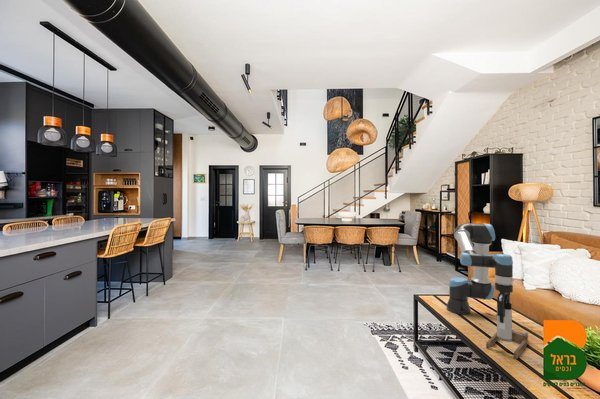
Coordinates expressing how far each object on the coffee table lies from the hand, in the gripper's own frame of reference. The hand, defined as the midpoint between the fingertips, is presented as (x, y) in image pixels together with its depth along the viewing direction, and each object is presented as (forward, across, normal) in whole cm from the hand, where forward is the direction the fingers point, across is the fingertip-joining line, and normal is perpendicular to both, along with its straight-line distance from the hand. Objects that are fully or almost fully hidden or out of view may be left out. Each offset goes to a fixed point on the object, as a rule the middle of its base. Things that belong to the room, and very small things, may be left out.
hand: (504, 326), depth 139 cm
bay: (+13, +8, 0) cm, 15 cm away
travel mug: (+7, 0, 0) cm, 7 cm away
